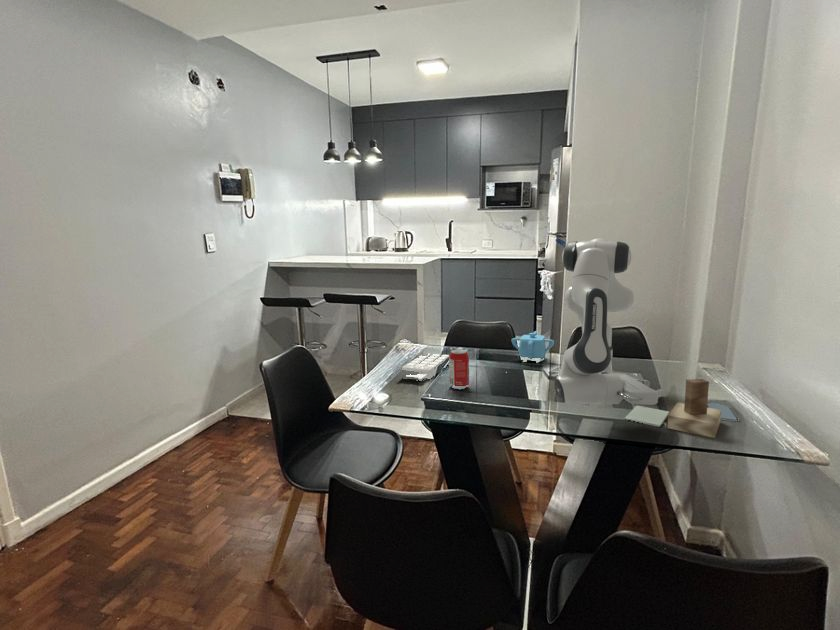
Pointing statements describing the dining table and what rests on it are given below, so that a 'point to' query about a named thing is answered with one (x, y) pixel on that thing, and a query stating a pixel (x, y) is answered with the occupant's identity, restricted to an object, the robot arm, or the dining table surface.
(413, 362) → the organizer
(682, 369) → the dining table surface
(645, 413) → the rubber mat
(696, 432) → the birch block
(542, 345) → the teapot
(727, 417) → the smartphone
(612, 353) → the robot arm
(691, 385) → the brown wooden upright block
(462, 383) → the soda can
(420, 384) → the dining table surface
